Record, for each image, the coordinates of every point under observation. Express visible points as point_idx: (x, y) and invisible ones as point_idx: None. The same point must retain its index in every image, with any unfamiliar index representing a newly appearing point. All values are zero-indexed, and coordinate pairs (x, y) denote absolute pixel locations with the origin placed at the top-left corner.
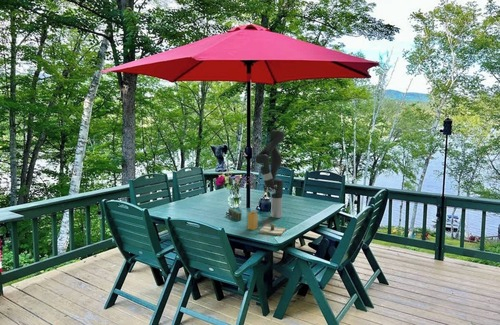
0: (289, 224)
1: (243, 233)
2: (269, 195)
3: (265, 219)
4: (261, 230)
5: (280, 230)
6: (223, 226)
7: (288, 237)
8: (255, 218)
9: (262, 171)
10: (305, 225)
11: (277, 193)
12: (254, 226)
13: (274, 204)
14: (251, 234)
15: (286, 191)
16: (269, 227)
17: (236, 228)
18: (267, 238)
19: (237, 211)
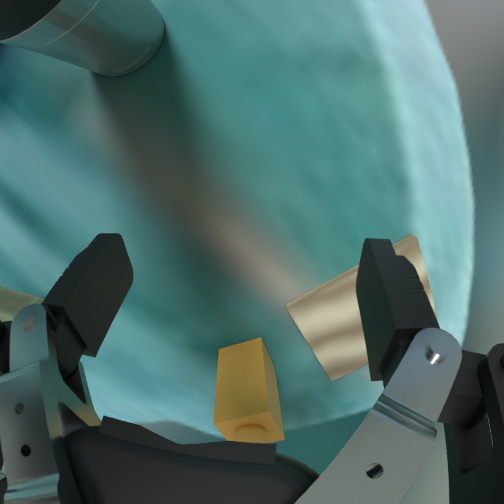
0: (350, 108)
1: None
2: (111, 285)
3: (125, 157)
4: (335, 367)
5: None
6: (135, 416)
7: (463, 303)
8: (275, 403)
9: None
10: (427, 58)
11: (432, 324)
12: (274, 376)
13: (83, 42)
14: (315, 401)
15: None
16: (334, 306)
17: (193, 403)
18: None
19: (10, 318)
